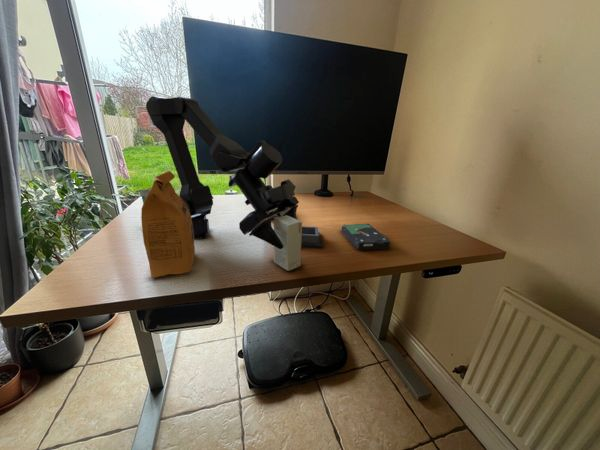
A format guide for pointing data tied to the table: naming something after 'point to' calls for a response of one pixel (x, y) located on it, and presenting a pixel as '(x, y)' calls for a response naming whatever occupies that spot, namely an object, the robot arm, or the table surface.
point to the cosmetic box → (288, 242)
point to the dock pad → (310, 237)
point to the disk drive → (365, 237)
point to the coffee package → (167, 229)
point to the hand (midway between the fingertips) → (291, 241)
